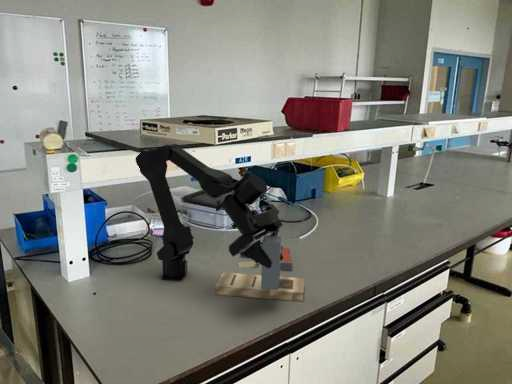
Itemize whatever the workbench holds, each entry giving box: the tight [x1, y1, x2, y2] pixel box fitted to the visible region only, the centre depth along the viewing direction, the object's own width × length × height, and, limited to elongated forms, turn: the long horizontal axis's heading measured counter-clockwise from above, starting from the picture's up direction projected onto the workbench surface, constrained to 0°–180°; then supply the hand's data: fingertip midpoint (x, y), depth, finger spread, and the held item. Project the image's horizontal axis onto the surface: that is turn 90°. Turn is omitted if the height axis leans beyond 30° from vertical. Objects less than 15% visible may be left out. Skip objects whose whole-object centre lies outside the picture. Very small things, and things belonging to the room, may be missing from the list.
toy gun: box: [237, 245, 294, 272], centre depth 142 cm, size 18×5×15 cm
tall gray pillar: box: [260, 235, 282, 290], centre depth 109 cm, size 4×4×13 cm
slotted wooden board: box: [215, 272, 305, 302], centre depth 121 cm, size 24×9×3 cm, turn 83°
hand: (276, 263), depth 109 cm, fingers closed on tall gray pillar, 6 cm apart
